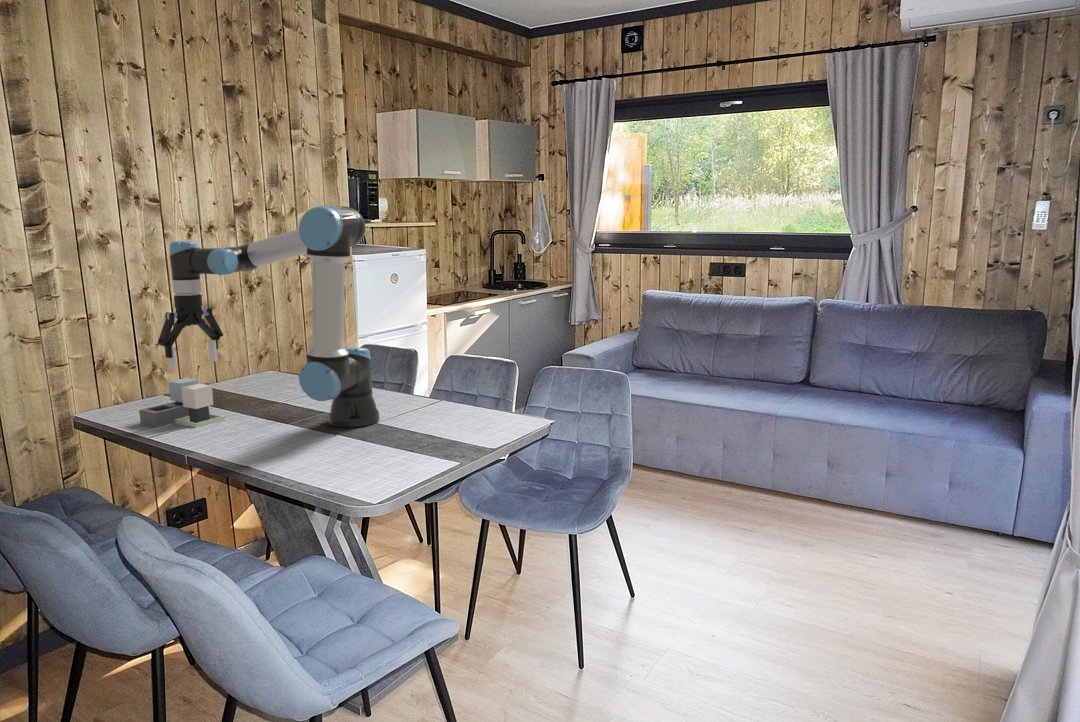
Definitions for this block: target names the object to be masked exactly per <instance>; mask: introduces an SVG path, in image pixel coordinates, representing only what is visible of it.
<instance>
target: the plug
mask: <svg viewBox="0 0 1080 722" xmlns="http://www.w3.org/2000/svg"><path fill="white" fill-rule="evenodd" d="M181 388H182V398H183V407H188V408H189V417H190V422H193V423H198V422H202V421H206V420H209V419H210V416H209V413H210V409H209V408H210V406H213V405H214V397H213V386H212V385H210V384H209V385H205V384H204V383H198V384H195V385H190V386H185V387H181Z"/></svg>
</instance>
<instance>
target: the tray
mask: <svg viewBox="0 0 1080 722" xmlns="http://www.w3.org/2000/svg"><path fill="white" fill-rule="evenodd" d="M209 416H210V419H209V420H206V421H202V422H198V423H193V422H190V417H189V416H187V417H183V418H179V419H175V423H174V424H176V425H180V426H186V427H190V428H195V429H197V428H200V427H204V426H208V425H212V424H215V423H216V424H217V423H219V422H223V421H226V420H225V419H226V418H225V415H220V414H216V413H210V412H209Z"/></svg>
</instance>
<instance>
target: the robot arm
mask: <svg viewBox="0 0 1080 722" xmlns="http://www.w3.org/2000/svg"><path fill="white" fill-rule="evenodd" d="M365 235H366V222H365V219H364V217H363V216H362V215H361V213H360V212H359V211H357V209H354V208H352V207H350V206H338V205H337V206H335V205H334V206H333V205H332V206H331V205H320V206H314V207H311V208H310V209H308V210H307V211H306V212H305V213H304V214H303V215H302V217H301V218H300V221H299V224H298V229H297V228H296V229H293V230H290V231H287V232H284V233H280V234H277V235H273V236H270V237H267V238H263V239H260V240H257V241H253V242H250V243H247V244H243V245H240V246H232V247H230V246H229V247H216V248H215V247H214V248H213V247H212V248H200V247H198V243H197V241H195V240H193V241H192V240H182V241H180V240H178V241H177V240H176V241H171V242H170V244H169V261H170V269H171V280H172V290H173V291H172V292H173V294H175V295H174V296H173V305H174V308H175V312H168V311H167V312H165V314H164V315H165V319H164V323H163V326H162V328H161V332H160V335H159V337H158V341H157V345H158V346H162V347H164V352H165V353H164V354H165V358H167V361H168V369H173V370H177V369H178V364H177V354H176V346H175V345H174V344H175V343H176V340H177V339H178V338H179V336H180V334H181V333H182V331H183V329H184V328H186V327H189V326H190V327H191V326H192V325H193V326H196V325H197V326H198V327H199V328H200V329H201V330H202V332H204V333H205V334H206V335H207V336H208V338H210V339H208V340H207V343H208V344H207V345H208V357H209V362H218V352H217V350H219V344H218V343H219V342H218V341H219V340H220V339H221V337H224V332H223V331H222V329H221V327H220V325H219V324H218V322H217V320H216V318H215V317H214V315H213V309H212V307H204V308H202V306H203V298H202V297H203V296H202V285H201V275H218V276H225V275H231V274H233V273H237V272H238V273H240V272H241V273H242V272H251V271H254V270H256V269H258V268H260V267H263V266H267V265H271V264H274V263H275V264H276V263H278V262H281V261H285V260H289V259H292V258H295V257H299V256H302V255H306V256H307V257H308V258H309V259H310V260H311V262H312V270H311V271H312V273H311V274H312V278H311V279H312V291H311V293H312V294H311V295H312V301H311V302H312V303H311V304H312V305H311V306H312V311H311V312H312V316H311V317H312V318H311V319H312V322H311V324H312V326H311V327H312V329H311V330H312V335H311V343H312V345H311V347H310V348H309V349H308V350H307V351H306V363H305V364H304V365H303V366H302V368H301V369H300V370H299V374H298V382H299V385H300V388H301V390H302V391H303V393H305V394H306V395H307V397H309V398H310V399H312V400H315V401H318V402H327V401H329V400H331V401H332V402H331V405H330V412H329V414H328V424H329V425H330V426H332V427H337V428H359V427H366V426H367V427H368V426H370V425H373V424H377V422H380V411H379V409H377V405H376V402H375V399H374V397H373V384H372V383H373V382H372V381H373V380H372V359H371V352H370V350H369V349H368V348H366V347H356V346H353V347H351V346H345V345H344V344H345V343H344V342H345V341H344V335H345V334H344V333H345V328H344V327H345V320H344V319H345V264H346V262H347V261H348V259H350V258H351V248H352V247H355V246H356V245H358V244H360V243H361V241H362V240H363V238H364V237H365ZM200 293H201V294H200ZM203 316H204V318H205V319H204V318H203ZM205 320H206V321H207V323H206V321H205ZM173 345H174V346H173Z"/></svg>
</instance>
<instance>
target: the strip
mask: <svg viewBox="0 0 1080 722" xmlns="http://www.w3.org/2000/svg"><path fill="white" fill-rule="evenodd" d="M195 384H199V379H195V378H189V377H184V378H179V379H174V380H169V381H168V389H169V399H170V401H172V402H169V403H168V402H167V403H164V404H159V405H154V406H151V407H147V408H143V409H139V410H138V413H139V420H140V425H142V426H147V427H152V428H156V429H157V428H158V429H159V428H161V427H166V426H170V425H172V424H175V419H179V418H183V417H187V416H189V408H188V407H183V398H182V388H181V387H185V386H190V385H195ZM203 384H205V385H210V383H208V382H205V383H203Z"/></svg>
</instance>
